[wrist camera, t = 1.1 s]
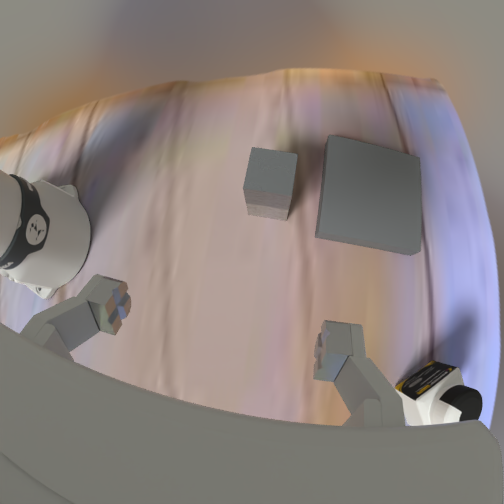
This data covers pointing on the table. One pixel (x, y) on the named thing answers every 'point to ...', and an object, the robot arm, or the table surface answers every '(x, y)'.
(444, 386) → the medicine bottle
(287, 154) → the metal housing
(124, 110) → the table surface
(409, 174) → the charcoal stand
